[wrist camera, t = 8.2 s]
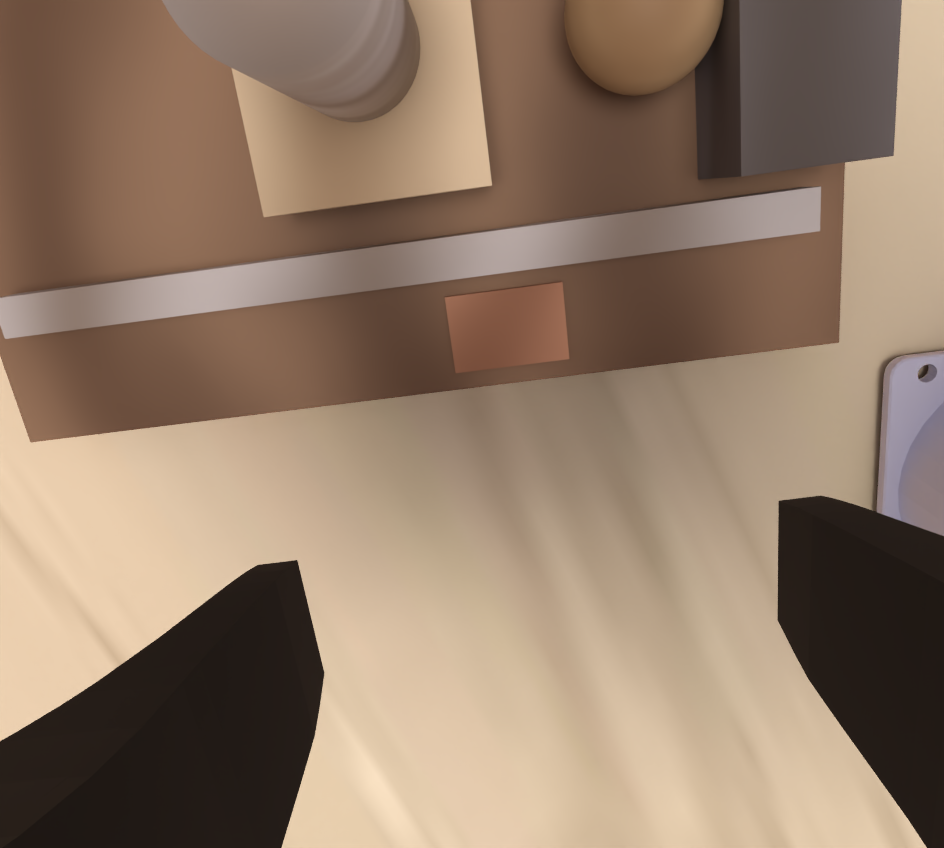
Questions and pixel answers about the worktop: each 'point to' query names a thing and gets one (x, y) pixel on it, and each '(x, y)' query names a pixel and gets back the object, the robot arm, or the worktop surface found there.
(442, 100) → the press ram
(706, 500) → the worktop surface
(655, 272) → the board
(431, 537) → the worktop surface
